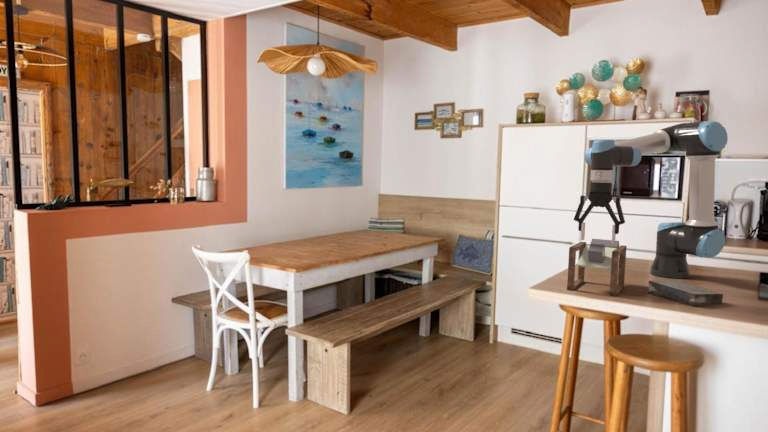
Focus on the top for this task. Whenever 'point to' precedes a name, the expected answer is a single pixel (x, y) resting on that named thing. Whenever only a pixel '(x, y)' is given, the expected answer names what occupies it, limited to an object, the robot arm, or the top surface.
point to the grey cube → (596, 253)
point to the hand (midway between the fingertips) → (597, 241)
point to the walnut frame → (617, 256)
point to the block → (684, 293)
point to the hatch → (608, 254)
